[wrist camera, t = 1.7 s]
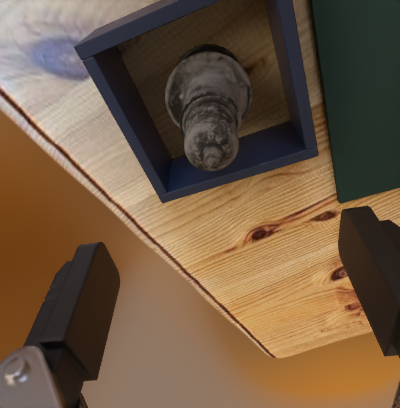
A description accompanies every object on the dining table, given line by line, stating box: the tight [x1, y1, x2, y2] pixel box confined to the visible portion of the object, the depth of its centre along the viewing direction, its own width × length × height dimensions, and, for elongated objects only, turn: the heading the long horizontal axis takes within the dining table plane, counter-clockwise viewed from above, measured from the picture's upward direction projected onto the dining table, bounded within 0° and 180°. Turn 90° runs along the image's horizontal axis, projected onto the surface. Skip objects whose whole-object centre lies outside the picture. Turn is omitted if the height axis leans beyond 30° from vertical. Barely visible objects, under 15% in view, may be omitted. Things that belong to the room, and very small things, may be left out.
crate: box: [74, 0, 319, 203], centre depth 23 cm, size 12×12×5 cm
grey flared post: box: [165, 44, 253, 171], centre depth 20 cm, size 6×6×12 cm
